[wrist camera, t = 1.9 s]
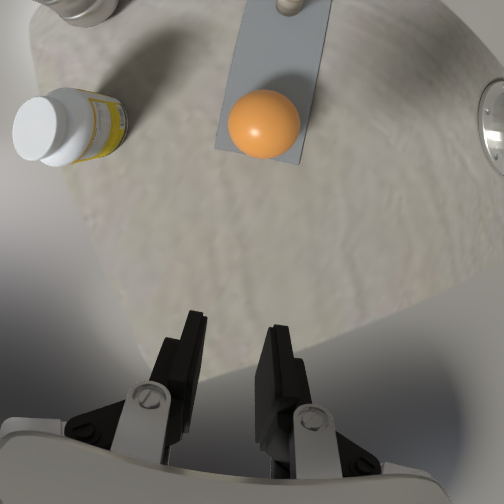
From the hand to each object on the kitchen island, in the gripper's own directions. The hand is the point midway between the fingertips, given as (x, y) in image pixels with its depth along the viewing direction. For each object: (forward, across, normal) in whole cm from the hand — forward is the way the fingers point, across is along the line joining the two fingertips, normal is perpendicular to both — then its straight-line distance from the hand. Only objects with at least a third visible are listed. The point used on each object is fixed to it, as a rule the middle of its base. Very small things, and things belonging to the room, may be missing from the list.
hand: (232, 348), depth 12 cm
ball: (+16, 0, -10) cm, 19 cm away
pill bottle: (+19, +16, -8) cm, 26 cm away
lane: (+19, 0, -18) cm, 26 cm away
